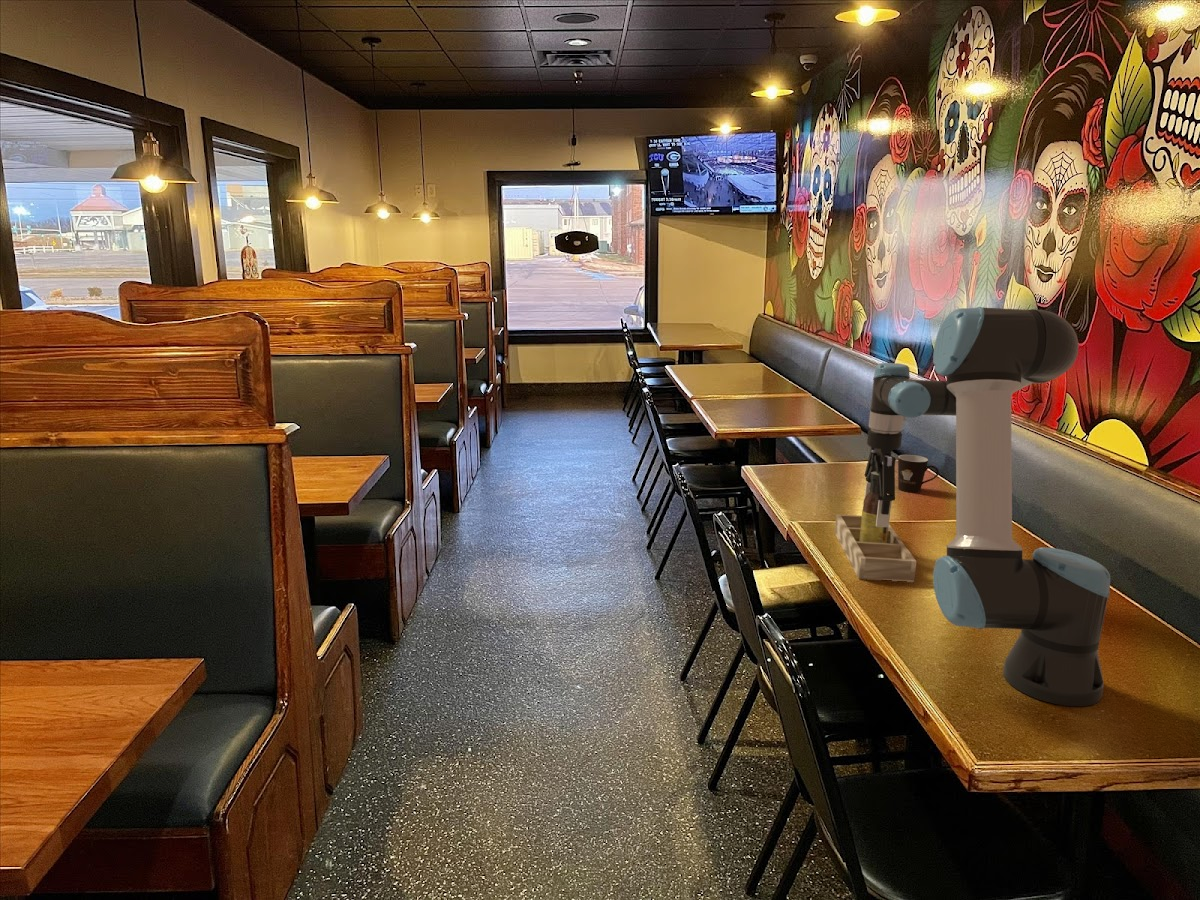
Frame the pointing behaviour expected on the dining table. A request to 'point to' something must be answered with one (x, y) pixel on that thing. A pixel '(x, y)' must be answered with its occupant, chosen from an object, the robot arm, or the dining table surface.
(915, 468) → the coffee mug
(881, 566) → the condiment rack
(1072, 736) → the dining table surface
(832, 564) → the dining table surface
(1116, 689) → the dining table surface
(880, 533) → the sauce bottle
